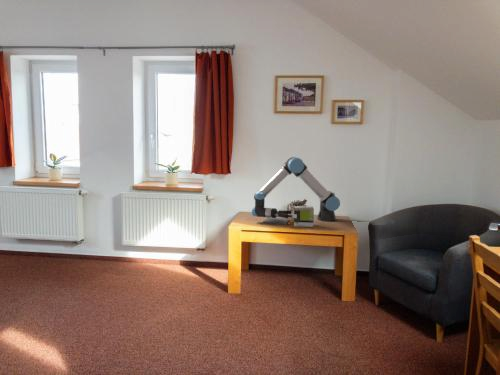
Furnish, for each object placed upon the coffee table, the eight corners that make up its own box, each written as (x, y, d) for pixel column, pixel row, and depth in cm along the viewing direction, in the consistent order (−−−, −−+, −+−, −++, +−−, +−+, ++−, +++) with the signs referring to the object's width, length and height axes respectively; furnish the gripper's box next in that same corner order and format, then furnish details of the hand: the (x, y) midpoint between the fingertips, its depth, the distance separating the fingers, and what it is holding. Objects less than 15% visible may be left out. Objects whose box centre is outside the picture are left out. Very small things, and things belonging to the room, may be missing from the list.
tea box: (312, 224, 314) (313, 206, 312) (313, 227, 304) (314, 208, 302) (293, 223, 315) (294, 205, 313) (293, 226, 305) (294, 207, 304)
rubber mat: (289, 220, 330) (289, 218, 329) (285, 224, 312) (285, 223, 312) (268, 218, 334) (268, 217, 334) (263, 222, 317) (263, 221, 317)
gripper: (274, 214, 328) (300, 216, 322) (267, 220, 304) (295, 222, 298) (274, 205, 327) (300, 207, 321) (267, 210, 303) (295, 212, 297)
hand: (298, 214), depth 309 cm, fingers open, 13 cm apart
